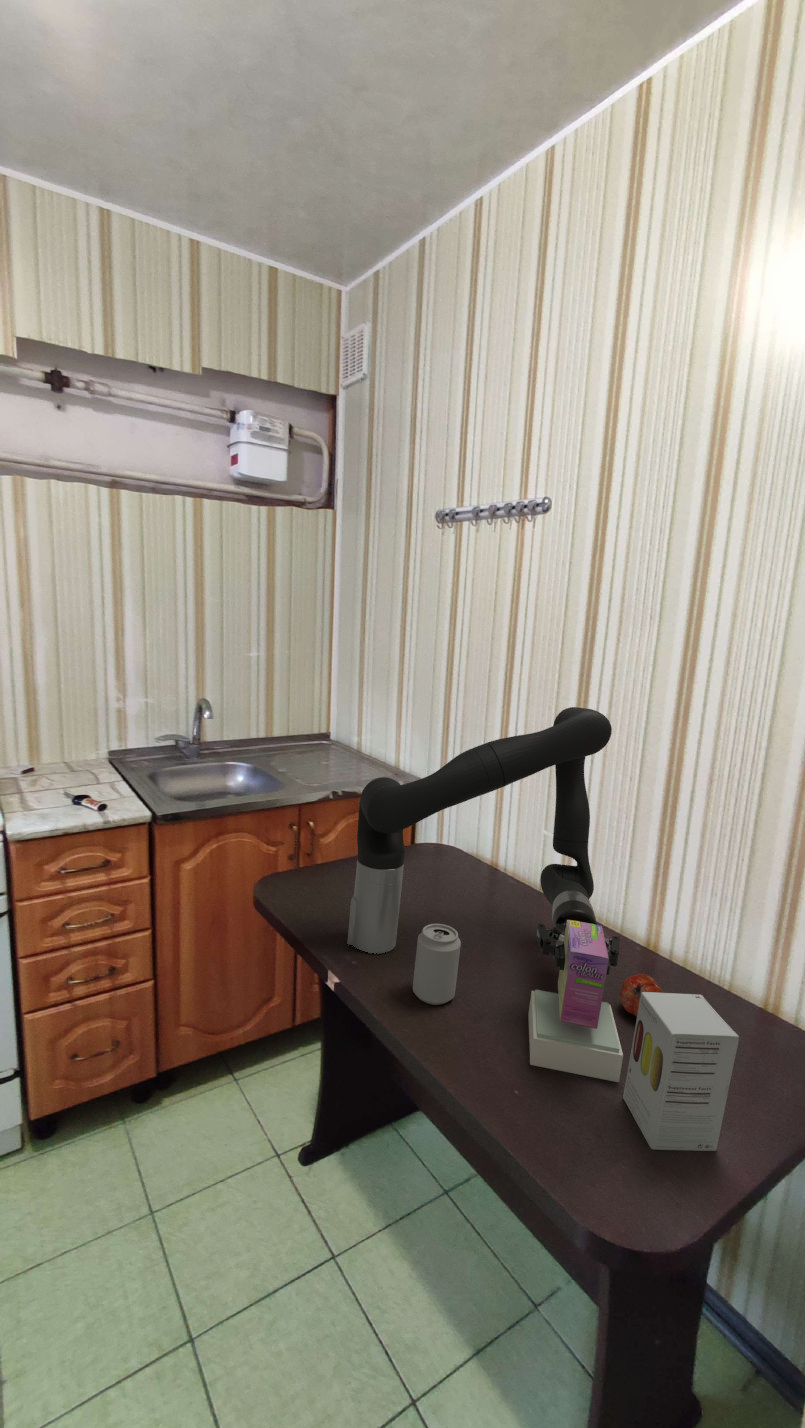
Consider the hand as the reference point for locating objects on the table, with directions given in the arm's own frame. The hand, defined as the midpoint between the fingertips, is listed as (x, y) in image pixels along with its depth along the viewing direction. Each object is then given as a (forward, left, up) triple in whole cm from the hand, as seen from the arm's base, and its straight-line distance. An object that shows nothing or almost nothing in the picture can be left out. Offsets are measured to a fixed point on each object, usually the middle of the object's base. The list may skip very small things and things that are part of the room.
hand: (583, 968), depth 101 cm
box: (0, +1, -7) cm, 7 cm away
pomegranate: (+13, +13, -14) cm, 23 cm away
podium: (0, 0, -14) cm, 14 cm away
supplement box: (+12, -13, -14) cm, 22 cm away
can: (-23, +7, -14) cm, 28 cm away
